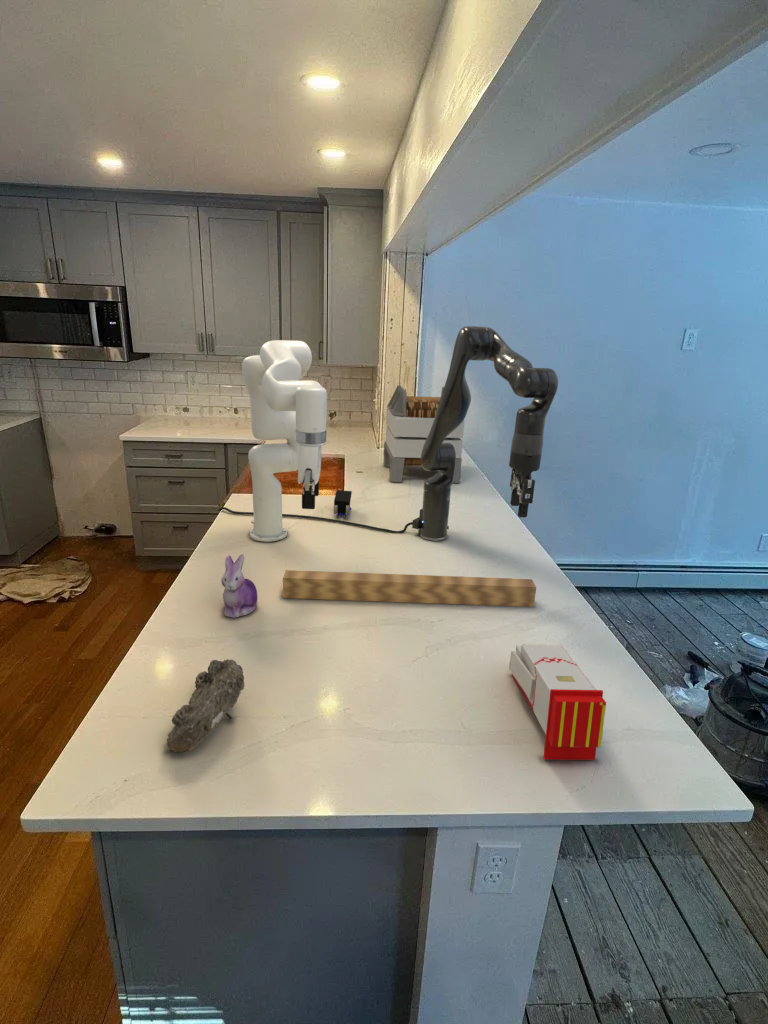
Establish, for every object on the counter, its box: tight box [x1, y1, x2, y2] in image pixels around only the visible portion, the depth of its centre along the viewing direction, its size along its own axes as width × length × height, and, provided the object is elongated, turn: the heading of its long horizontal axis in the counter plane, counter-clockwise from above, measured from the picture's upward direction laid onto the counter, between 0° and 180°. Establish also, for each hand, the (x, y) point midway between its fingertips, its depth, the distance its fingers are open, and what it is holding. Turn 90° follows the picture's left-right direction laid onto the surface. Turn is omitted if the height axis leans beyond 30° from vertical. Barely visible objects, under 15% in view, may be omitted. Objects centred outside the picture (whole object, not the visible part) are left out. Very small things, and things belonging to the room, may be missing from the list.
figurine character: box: [333, 489, 353, 519], centre depth 215 cm, size 7×8×15 cm
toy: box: [508, 643, 607, 761], centre depth 112 cm, size 12×13×30 cm
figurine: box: [220, 553, 258, 618], centre depth 143 cm, size 9×10×15 cm
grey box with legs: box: [383, 384, 465, 484], centre depth 268 cm, size 34×33×41 cm
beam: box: [282, 569, 537, 608], centre depth 155 cm, size 68×5×6 cm, turn 90°
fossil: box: [166, 658, 245, 754], centre depth 106 cm, size 22×10×15 cm
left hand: (310, 501), depth 146 cm, fingers open, 9 cm apart
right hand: (518, 511), depth 147 cm, fingers open, 8 cm apart
